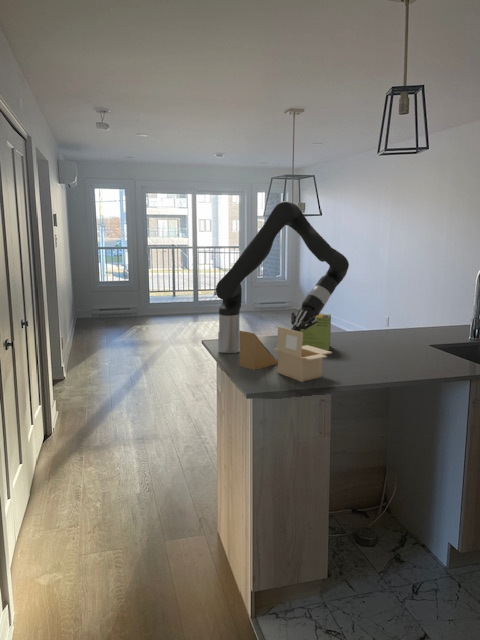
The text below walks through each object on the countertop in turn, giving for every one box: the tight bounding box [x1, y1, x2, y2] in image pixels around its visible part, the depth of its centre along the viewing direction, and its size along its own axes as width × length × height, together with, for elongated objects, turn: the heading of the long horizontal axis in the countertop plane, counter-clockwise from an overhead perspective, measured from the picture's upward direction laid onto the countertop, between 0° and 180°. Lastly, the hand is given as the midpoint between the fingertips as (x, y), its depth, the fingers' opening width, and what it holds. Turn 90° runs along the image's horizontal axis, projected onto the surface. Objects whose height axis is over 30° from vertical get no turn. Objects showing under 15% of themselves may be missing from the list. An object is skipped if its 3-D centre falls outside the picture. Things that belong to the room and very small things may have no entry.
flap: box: [275, 326, 303, 357], centre depth 181 cm, size 14×9×1 cm
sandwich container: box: [239, 330, 278, 371], centre depth 200 cm, size 9×15×15 cm, turn 134°
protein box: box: [299, 313, 332, 351], centre depth 228 cm, size 10×15×16 cm
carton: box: [274, 345, 333, 383], centre depth 187 cm, size 20×15×9 cm
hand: (291, 336), depth 181 cm, fingers closed
